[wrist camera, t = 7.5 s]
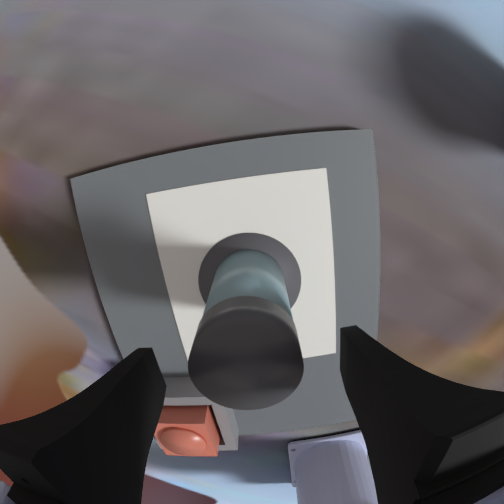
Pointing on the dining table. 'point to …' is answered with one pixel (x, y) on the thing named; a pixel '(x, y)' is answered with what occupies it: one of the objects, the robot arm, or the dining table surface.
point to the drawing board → (234, 239)
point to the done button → (188, 431)
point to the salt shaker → (247, 336)
